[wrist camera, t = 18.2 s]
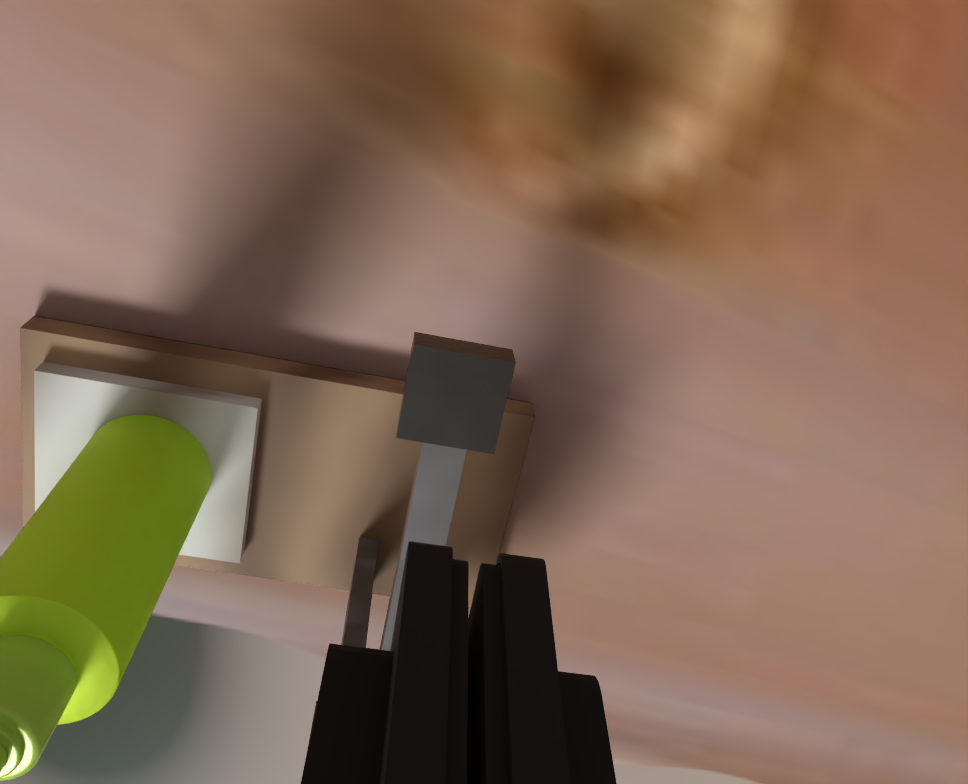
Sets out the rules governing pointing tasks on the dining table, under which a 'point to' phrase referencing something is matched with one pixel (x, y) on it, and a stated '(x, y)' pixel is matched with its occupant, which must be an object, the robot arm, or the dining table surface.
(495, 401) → the lever
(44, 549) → the soap dispenser
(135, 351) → the base
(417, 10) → the dining table surface
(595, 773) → the robot arm
